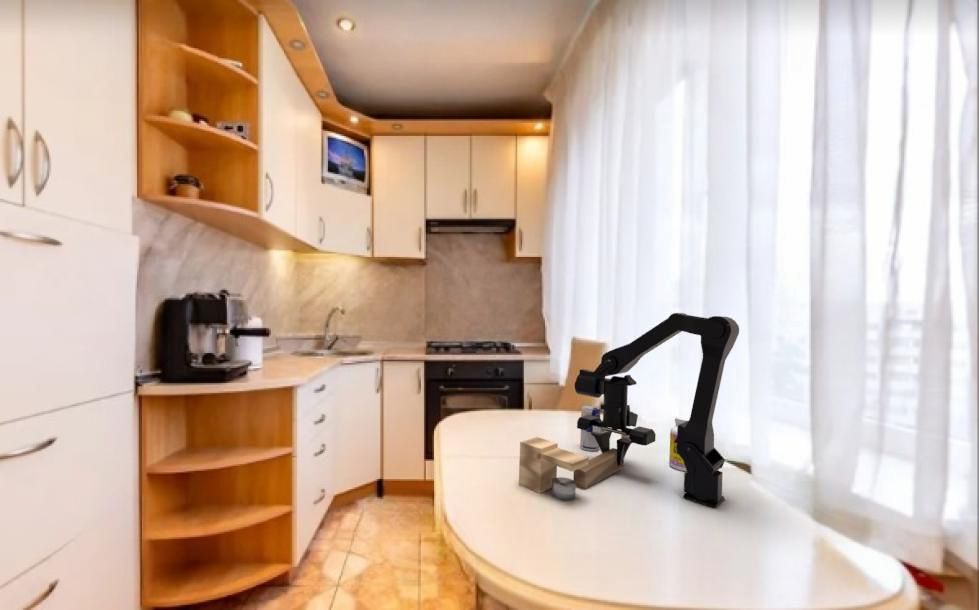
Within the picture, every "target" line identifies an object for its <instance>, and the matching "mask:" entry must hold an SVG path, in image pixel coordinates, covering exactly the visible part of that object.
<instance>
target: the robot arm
mask: <svg viewBox="0 0 979 610" xmlns="http://www.w3.org/2000/svg"><path fill="white" fill-rule="evenodd" d="M682 332H684V333H688V334H691V335H696V336H700V346H701V351H702V352H701V353H702V359H701V363H700V369H699V374H698V379H697V383H696V387H695V392H694V393H695V394H694V396H693V398H694V399H693V402H692V407H691V411H690V415H689V417H690V419H689V421H686V422H684V423H682V424H680V425H678V429H677V438H676V440H675V441H674V443H677V447H676V449H677V453H678V454H679V455H680V457H681V458H682V459H683V461H684V464H685V467H686V470H687V471H685V472H684V477H683V478H684V479H683V492H684V494H683V495H682V496H683V497H682V498H685V499H687V500H690V501H693V502H696V503H699V504H702V505H705V506H708V507H711V508H715V509H716V508H717V507H718V506H720V504H721V503H722V502H723V501H725V496H724V495H723V471H720V469H723V467H724V464H725V462H726V459H725V458H724V457H723V456H722V454H721V453H720V452H719V451H718V450H717V448H716V447H715V434H714V432H715V431H714V427H713V426H714V425H713V420H714V414H715V409H716V405H717V402H718V401H717V400H718V395H719V391H720V387H721V382H722V377H723V373H724V367H725V363H726V359H727V358H728V357H729V354H730V353H731V351H732V350H733V348H734V347H735V345H736V344H735V343H736V341H737V339H738V336H739V335H740V334H739V333H740V326H739V325H738V323H737V322H736V320H734V319H733V318H732V317H728V316H720V315H719V316H717V315H715V316H714V315H713V316H710V317H708V318H707V317H702V316H701V317H700V316H695V315H690V314H687V313H684V312H673V313H672V314H670V315H669V316H668V317H667V318H666V319H664V320H662V321H661V322H660V323H658V324H657V325H655V326H654V327H652V328H651V329H649V330H648V331H646V332H644V333H643V334H641V336H639V337H637V338H636V339H634V340H633V341H631V342H629V343H628V344H624V345H622V346H619V347H616V348H614V349H611V350H609V351H607V352H605V353H604V354H603V355H602V356H601V361H600V363H599V364H598V366H597V367H596V369H595V370H591V369H586V368H583V369H579V374H578V375H577V376H576V379H575V382H574V390H575V393H576V394H578V395H580V396H586V397H590V398H591V397H593V398H598V399H599V398H601V397H602V395H603V404H600V410H602V419H601V416H600V417H596V416H592V415H586V416H583V417H581V416H579V418H578V419H577V421H576V428H577V429H579V430H581V429H582V430H588V429H589V428H590V427H593V432H592V433H591V435H592V436H594V437H595V439H596V441H597V443H598V445H599V450H600V451H601V454H602V453H604V452H606V451H608V450H610V449H611V447H610V445H611V443H610V441H611V436H612V433H614V434H618V435H620V437H621V438H619V439H617V440H616V449H617V462H618V466H620V465H622V462H623V460H624V461H625V457H626V454H627V452H628V450H629V448H630V446H631V445H632V444H636V445H640V446H648V445H650V444H652V443H655V442H656V437H657V436H656V432H655V430H654V429H651V428H649V427H644V426H637V421H638V416H639V415H638V414H637V413H635V412H633V411H631V407H630V404H628V389H629V388H628V387H630V386H636V385H637V381H636V380H635V379H634V378H633V377H632V376H631V374H626V375H624V376H616V375H619V374H620V375H621V374H625V373H628V372H629V371H630V370H631V369H632V368H633V367H634V366H636V365H637V364H638V363H639V361H640V360H641V358H643V357H644V356H645V355H646V354H649V353H650V352H651V351H653V350H655V349H656V348H657V347H659V346H661V345H663V344H664V343H666V342H667V341H668V340H670V339H672V338H674V337H675V336H677V335H679V334H680V333H682ZM609 376H612V377H611V378H606V377H609ZM630 427H633V428H630Z"/></svg>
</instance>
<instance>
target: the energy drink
mask: <svg viewBox="0 0 979 610" xmlns="http://www.w3.org/2000/svg"><path fill="white" fill-rule="evenodd" d="M580 413H581V414H580V417H583V416H586V415H592V416H596V417H600V418H601V407H599V406H596V405H589V404H584V405H582V407H581V411H580ZM592 432H593V427H590V428H589V429H588V430H582V429H580V441H579V442H580V445H579V446H580V448H581V450H583V451H587V452H598V451H599V450H600V447H599V445H598V443H597V441H596V439H595V437H594V436H592V435H591V433H592Z"/></svg>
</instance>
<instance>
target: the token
mask: <svg viewBox="0 0 979 610" xmlns="http://www.w3.org/2000/svg"><path fill="white" fill-rule="evenodd" d="M576 490H577V486H576V482H575V481H574V479H572V478H568V477H560V476H559V477H557V478H554V479H553V480H552V488H551V497H552V498H553V499H556V500H558V501H563V502H572V501H574V500H575V499H576V492H577V491H576Z"/></svg>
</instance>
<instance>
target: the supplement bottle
mask: <svg viewBox="0 0 979 610" xmlns="http://www.w3.org/2000/svg"><path fill="white" fill-rule="evenodd" d="M689 419H690V416H686V415H675V416H674V423H675V424H674V425H672V426H671V428H670V434H669V458H668V459H669V460H668V462H669V466H670V467H671V468H673V469H675V470H678V471H682V472H687V470H686V467H685V464H684V461H683V459H682V458H681V457H680V455H679V454H678V453H677V449H676V447H677V443H674V441H675V440H676V438H677V429H678V425H680V424H682V423H684V422H686V421H689Z"/></svg>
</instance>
